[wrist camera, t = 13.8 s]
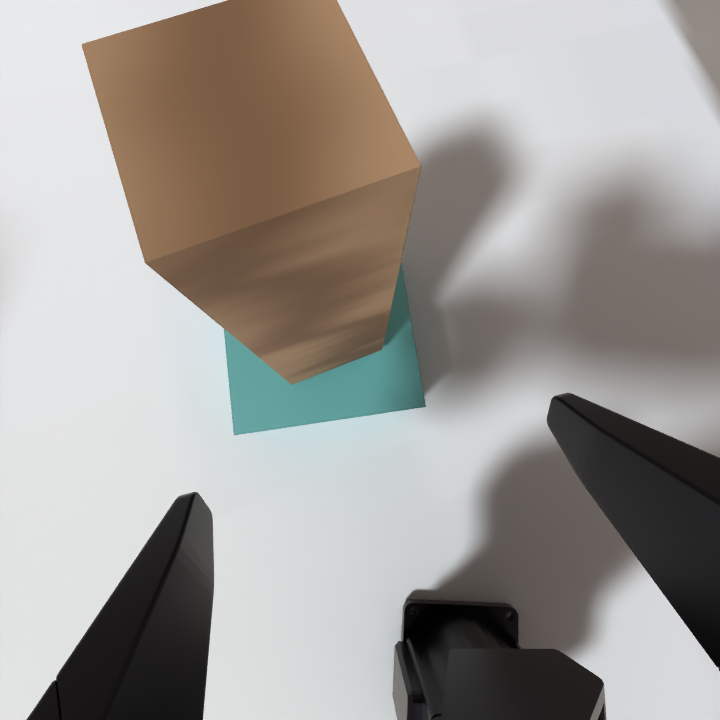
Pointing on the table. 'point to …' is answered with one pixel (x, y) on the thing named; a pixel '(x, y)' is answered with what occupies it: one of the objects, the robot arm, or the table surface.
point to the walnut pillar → (263, 173)
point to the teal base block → (328, 382)
